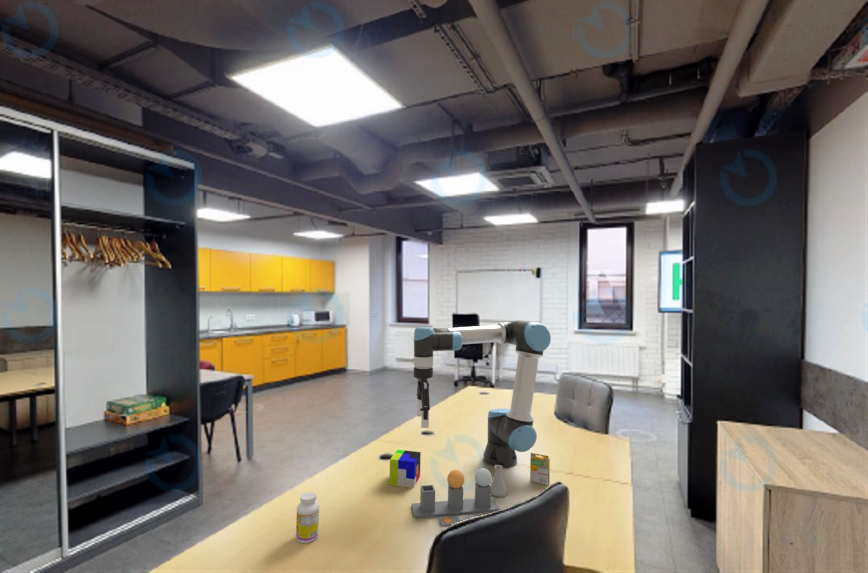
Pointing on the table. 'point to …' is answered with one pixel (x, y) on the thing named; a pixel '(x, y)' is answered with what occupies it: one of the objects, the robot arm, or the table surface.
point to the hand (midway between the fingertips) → (422, 421)
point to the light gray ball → (483, 477)
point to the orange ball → (455, 479)
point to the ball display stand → (453, 503)
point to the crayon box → (539, 468)
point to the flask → (498, 483)
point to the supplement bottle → (307, 518)
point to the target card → (454, 519)
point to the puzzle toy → (405, 468)
